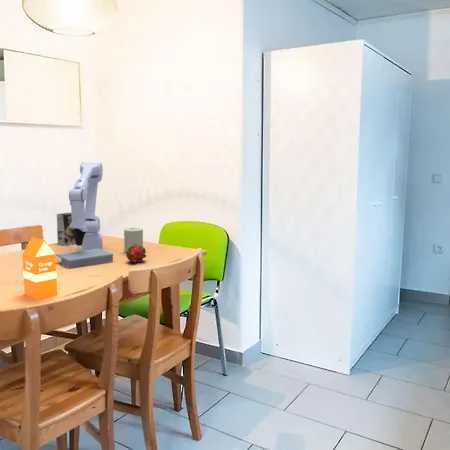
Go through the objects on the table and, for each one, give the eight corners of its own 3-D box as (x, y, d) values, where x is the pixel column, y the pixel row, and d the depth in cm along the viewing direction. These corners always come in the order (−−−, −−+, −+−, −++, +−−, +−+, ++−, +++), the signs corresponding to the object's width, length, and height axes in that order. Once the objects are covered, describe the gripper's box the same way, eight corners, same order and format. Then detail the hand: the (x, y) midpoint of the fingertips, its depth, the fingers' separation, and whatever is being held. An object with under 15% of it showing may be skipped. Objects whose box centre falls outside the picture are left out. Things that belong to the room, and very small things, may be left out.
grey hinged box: (103, 258, 227) (103, 251, 226) (112, 261, 220) (112, 255, 219) (61, 264, 214) (61, 257, 213) (69, 268, 207) (69, 261, 207)
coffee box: (65, 246, 252) (64, 214, 250) (57, 244, 256) (56, 213, 253) (79, 243, 260) (78, 213, 257) (71, 241, 263) (70, 212, 261)
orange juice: (36, 299, 166) (33, 241, 163) (24, 294, 172) (21, 237, 168) (57, 294, 172) (55, 238, 168) (45, 289, 177) (42, 235, 174)
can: (141, 250, 245) (141, 226, 243) (144, 254, 236) (144, 229, 234) (123, 251, 242) (122, 227, 240) (125, 255, 233) (125, 230, 232)
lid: (99, 250, 230) (99, 244, 229) (113, 255, 219) (113, 249, 219) (56, 255, 217) (56, 249, 217) (68, 261, 206) (68, 255, 206)
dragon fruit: (143, 262, 227) (133, 272, 215) (128, 251, 227) (117, 260, 215) (152, 249, 223) (142, 258, 212) (137, 237, 223) (127, 246, 212)
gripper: (63, 214, 223) (64, 243, 225) (76, 218, 212) (77, 249, 214) (78, 213, 227) (79, 242, 229) (91, 216, 216) (92, 247, 218)
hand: (79, 245), depth 222 cm, fingers closed
